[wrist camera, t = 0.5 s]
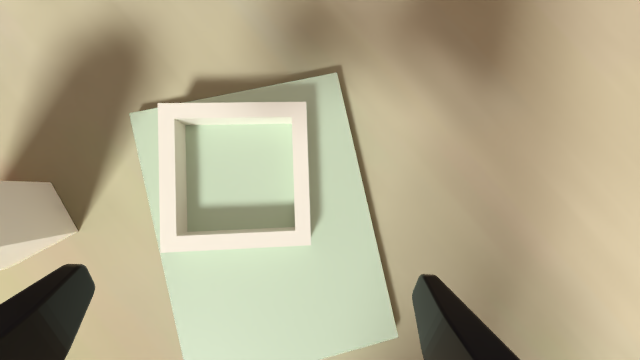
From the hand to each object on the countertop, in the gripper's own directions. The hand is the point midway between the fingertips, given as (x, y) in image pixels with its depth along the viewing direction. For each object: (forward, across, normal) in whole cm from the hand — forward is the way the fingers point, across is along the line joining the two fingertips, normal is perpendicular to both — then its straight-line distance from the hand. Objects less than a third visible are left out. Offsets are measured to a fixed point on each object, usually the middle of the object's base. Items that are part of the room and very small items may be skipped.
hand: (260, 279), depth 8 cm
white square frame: (+14, +3, +6) cm, 15 cm away
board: (+12, +1, +9) cm, 14 cm away
